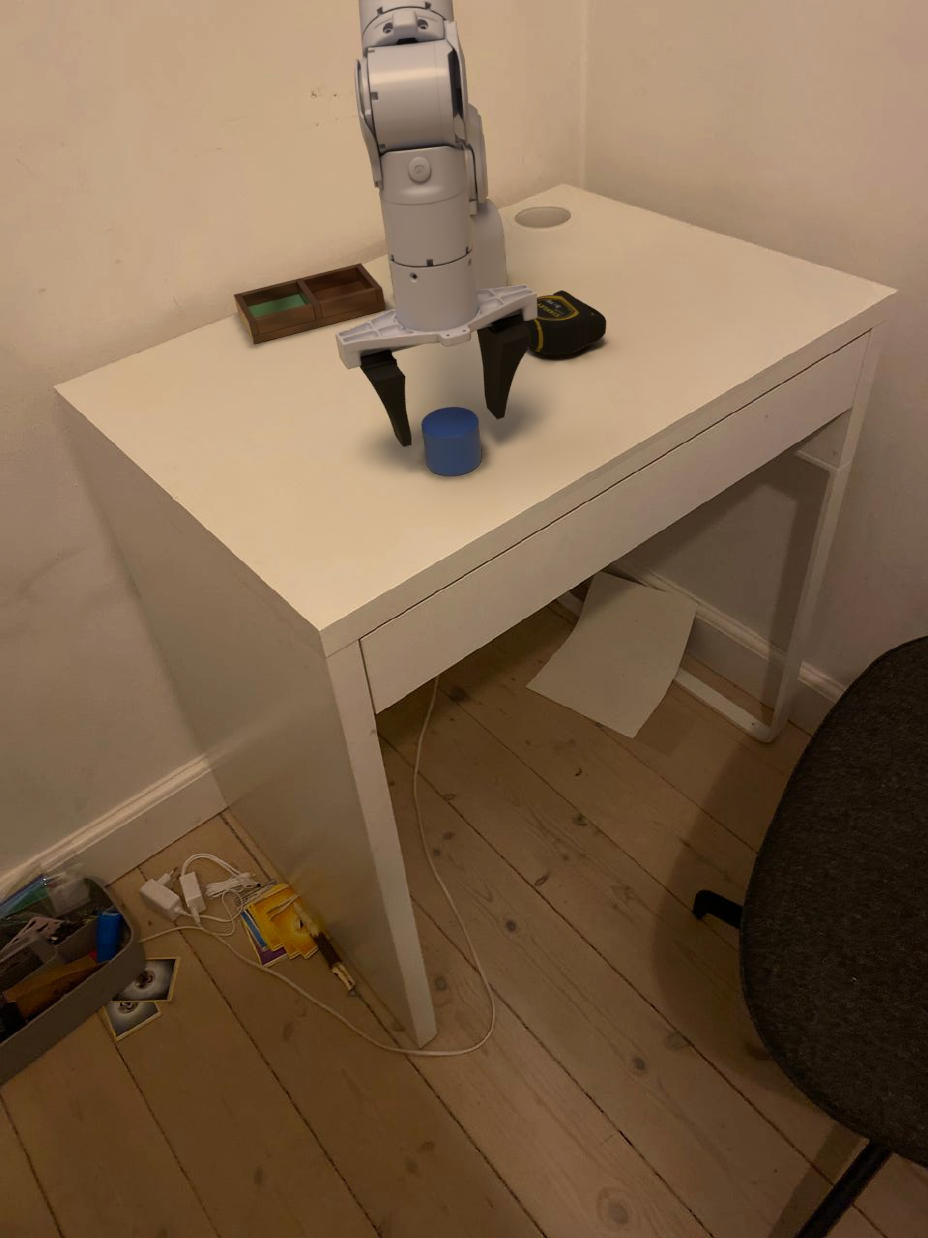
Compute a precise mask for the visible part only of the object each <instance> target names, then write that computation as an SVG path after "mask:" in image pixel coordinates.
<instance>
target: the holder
mask: <svg viewBox="0 0 928 1238" xmlns="http://www.w3.org/2000/svg"><path fill="white" fill-rule="evenodd" d="M233 298H234V302H235V306H236V309H237V313H238V316H239V318H240V320H241V321H242V324H243V325H244V328H245V330H246V331H247V333H248V335H249V337H250V339H251V340H252V343H253V344H254V345H256V344H260V343H263V342H268V341H272V340H275V339H279V338H283V337H287V336H290V335H295V334H298V333H302V332H306V331H309V330H313V329H318V328H321V327H325V326H329V325H332V324H337V323H340V322H344V321H348V320H352V319H356V318H360V317H363V316H368V315H371V314H375V313H378V312H382V311H386V304H385V298H384V290H383V287H382V286H381V285H380V284H379V282H378V281H377V280H376V279H375V278H374V277H373V276H372V275H371V273H370V272H369V271H368V270H367V269H366V268H365V266H364V265H363V264H362V263H361V262H360V263H356V264H351V265H347V266H344V267H339V268H335V269H331V270H327V271H323V272H319V273H315V274H312V275H307V276H303V277H299V278H296V279H291V280H287V281H283V282H279V283H275V284H271V285H268V286H262V287H258V288H254V289H251V290H247V291H242V292H238V293H235V294H233Z"/></svg>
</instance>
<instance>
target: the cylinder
mask: <svg viewBox="0 0 928 1238" xmlns="http://www.w3.org/2000/svg"><path fill="white" fill-rule="evenodd" d="M420 427H421V434H422V442H423V451H424V456H425V464H426V466H427V468H428V469H429V470H430V471H431V472H433V473H434V474H436V475H440V476H446V477H452V476H453V477H455V476H461V475H464V474H468V473H470V472H472V471H473V470H475V469H476V468H478V467H479V465H480V464H481V461H482V445H481V436H480V435H481V434H480V423H479V417H478V415H477V414H476V413H475V412H474V411H473V410H471V409H468V408H466V407H460V406H447V407H446V406H445V407H441V408H438V409H435V410H433V411H431V412H429V413H427V414H426V415H425V416H424V417H423V418H422V421H421V424H420Z"/></svg>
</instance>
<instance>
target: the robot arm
mask: <svg viewBox="0 0 928 1238" xmlns="http://www.w3.org/2000/svg"><path fill="white" fill-rule="evenodd" d="M358 13H359V28H360V42H361V53H362V58H361V60H360V59H359V58H356V59H355V61H354V70H353V71H354V72H353V73H354V74H353V76H354V91H355V99H356V108H357V115H358V120H359V126H360V132H361V136H362V138H363V142H364V145H365V147H366V151H367V154H368V159H369V162H370V168H371V174H372V181H373V186H374V188H375V189H377V188H378V189H379V192H378V195H379V202H380V209H381V216H382V217H381V218H382V223H383V230H384V237H385V245H386V251H387V258H388V259H387V260H388V266H389V272H390V279H391V287H392V293H393V299H394V300H393V301H394V307H393V308H392V309H389V310H388V311H385V312H383V313H381V314H379V315H377V316H375V317H373V318H371V319H369V320H366V321H364V322H362V323H360V324H357V325H355V326H353V327H350V328H348V329H344V330H341V331H338V332H337V331H336V332H335V333H334V336H335V340H336V345H337V351H338V356H339V359H340V360H341V362H342V364H343V365H344V367H345V368H346V369H347V370H351V369H356V368H360V370H361V371H362V373H363V374H364V375H365V377H366V378H367V380H368V382H370V384H371V386H372V387H373V389H374V390H375V392H376V394H377V396H378V398H379V400H380V401H381V403H382V405H383V407H384V410H385V411H386V414H387V416H388V419H389V421H390V424H391V427H392V430H393V433H394V437H395V438H396V439H397V441H398V442H399V443H400V445H401V447H402V448H406V447H409V446H412V445H413V441H412V440H413V439H412V432H411V427H410V422H409V417H408V412H407V411H408V410H407V401H406V378H407V377H406V374H405V373H404V372H403V371H402V370H401V368H400V367H399V366H398V360H397V358H395V357H394V355H393V354H394V353H397V352H401V351H404V350H407V349H411V348H415V347H419V346H423V345H429V344H439V343H440V344H441V345H442V346H444V347H454V346H457V345H461V344H465V343H468V342H470V341H471V339H472V333H474V332H476V335H477V339H478V345H479V351H480V356H481V363H482V374H483V394H484V395H483V396H484V401H485V406H486V409H487V410H488V412H490V414H492V416H493V417H494V418H495V419H496V420H500V419H504V418H505V417H506V409H507V405H508V400H509V397H510V396H509V395H510V391H511V388H512V385H513V381H514V378H515V375H516V373H517V370H518V368H519V366H520V364H521V361H522V359H523V357H524V356H525V354H526V352H527V350H528V349H529V346H530V340H531V336H530V330H529V329H528V328H527V327H526V326H525V325H524V324H523V320H524V321H528V320H532V319H535V318H537V317H538V316H537V297H538V292H537V291H535V290H534V289H533V288H531V287H530V285H528V284H527V283H526V282H523V283H519V284H514V285H509V286H508V274H507V257H506V240H505V239H506V238H505V231H504V230H505V229H504V226H503V221H502V217H501V215H500V211H499V210H498V208H497V205H496V204H495V203H494V202H493V200H492V199H490V198H488V197H489V180H488V179H489V178H488V166H487V165H488V164H487V152H486V143H485V142H486V141H485V134H484V131H483V122H482V121H483V120H482V116H481V115H480V114H479V111H478V109H477V108H476V107H475V106H474V105H473V104H471V103H469V94H468V93H469V92H468V80H467V69H466V58H465V55H464V50H463V48H462V45H461V44H462V43H461V40H460V37H459V31H458V23H457V21H456V20H455V15H454V14H455V13H454V3H453V0H358Z"/></svg>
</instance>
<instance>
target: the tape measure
mask: <svg viewBox="0 0 928 1238" xmlns="http://www.w3.org/2000/svg"><path fill="white" fill-rule="evenodd" d="M537 316H538V317H537V318H535V319H532V320H528V321H524V320H523V324H524V325H525V326H526V327H527V328H528V329H529V330H530V336H531V340H530V346H529V347H528V349H530V350H532V351H534V352H536V353H540V354H543V355H550V356H563V355H570V354H574V353H576V352H579V351H580V350H583V349H584V348H586V347H588V346H590V345H591V344H594V343H596V342H598V341H599V340H601V339H603V337H604V336H605V335H606V333H607V318H606V316H605V315H604V314H603V313H601V312H600V311H599V310H597V309H596V308H594V307H592V306H591V305H588V304H587V303H585V302H583V301H582V300H580V299H578V298H576V297H575V296H573V295H572V294H571V293H570V292H568V291H566V290H558V291H556V292H553V294H549V295H540V296H537Z"/></svg>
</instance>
